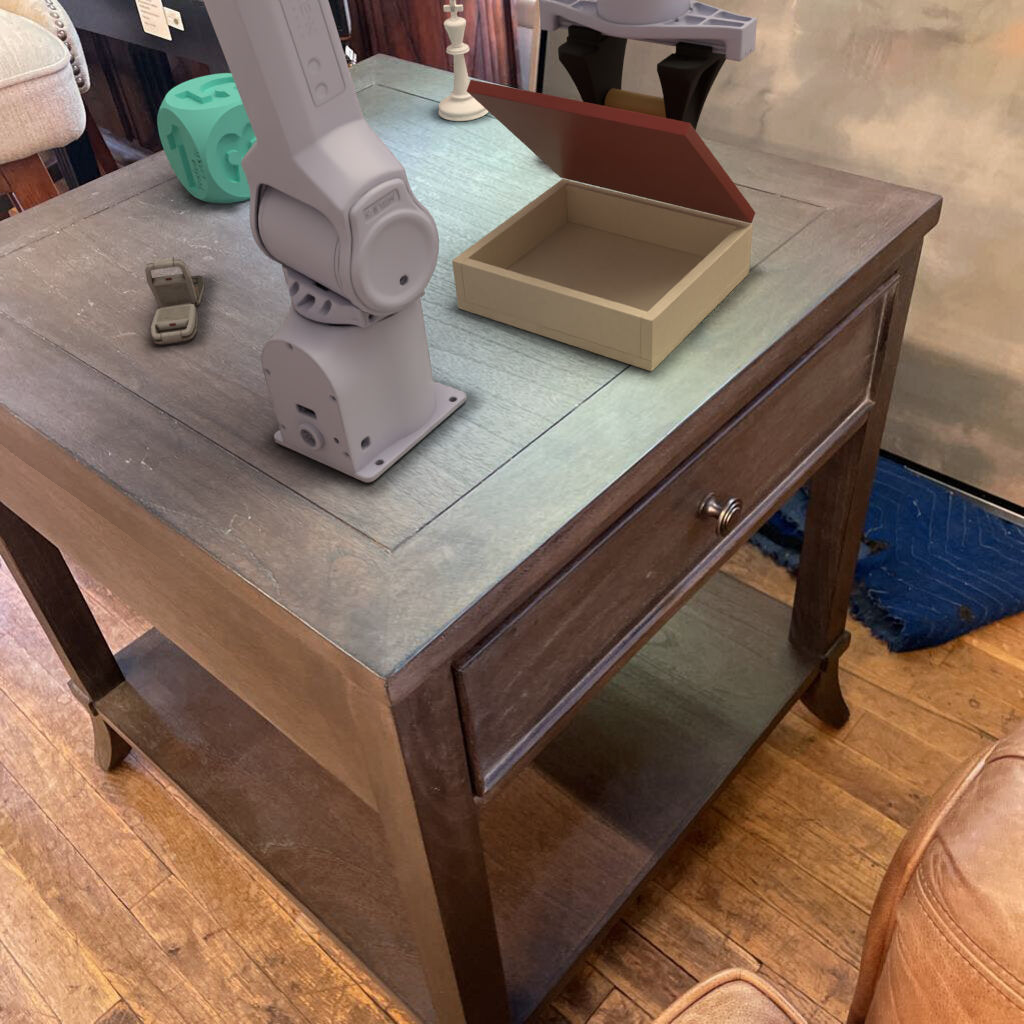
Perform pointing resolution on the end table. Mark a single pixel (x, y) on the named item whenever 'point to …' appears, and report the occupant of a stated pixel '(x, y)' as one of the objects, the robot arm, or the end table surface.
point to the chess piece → (459, 72)
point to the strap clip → (174, 302)
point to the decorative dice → (207, 137)
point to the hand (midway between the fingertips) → (643, 149)
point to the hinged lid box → (604, 271)
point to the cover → (618, 146)
